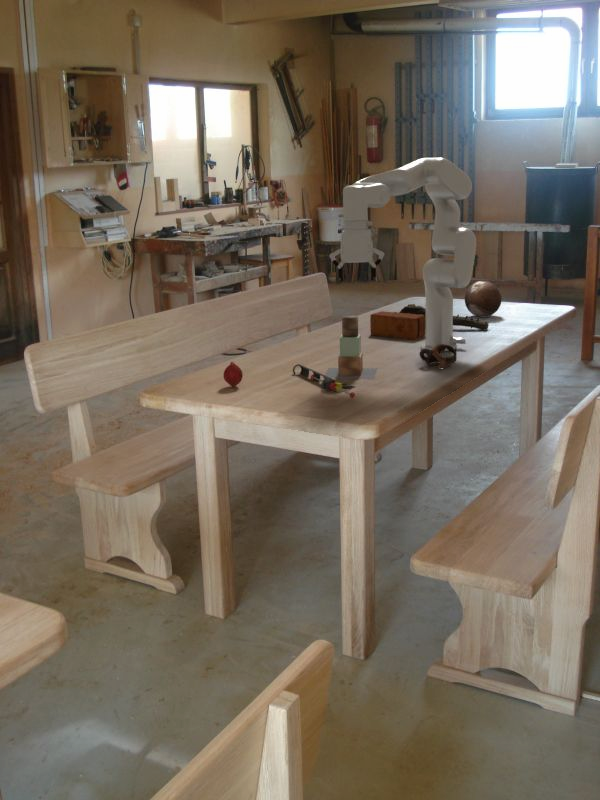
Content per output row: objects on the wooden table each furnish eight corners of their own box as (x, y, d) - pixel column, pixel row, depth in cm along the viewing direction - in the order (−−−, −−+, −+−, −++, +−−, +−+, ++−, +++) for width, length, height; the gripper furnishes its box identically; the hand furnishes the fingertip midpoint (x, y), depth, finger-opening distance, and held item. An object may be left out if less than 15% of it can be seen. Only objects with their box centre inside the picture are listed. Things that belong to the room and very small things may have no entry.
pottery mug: (451, 363, 312) (459, 344, 306) (451, 382, 305) (459, 363, 299) (416, 355, 311) (423, 336, 306) (415, 373, 304) (422, 354, 299)
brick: (414, 318, 346) (414, 340, 348) (425, 314, 352) (426, 336, 355) (369, 314, 357) (369, 336, 360) (381, 310, 364) (381, 331, 366)
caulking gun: (318, 365, 303) (290, 363, 299) (375, 390, 271) (344, 387, 266) (316, 377, 304) (288, 375, 299) (372, 403, 271) (342, 401, 267)
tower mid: (360, 352, 300) (360, 334, 298) (359, 356, 294) (358, 337, 292) (342, 352, 301) (341, 333, 299) (339, 356, 295) (339, 337, 293)
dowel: (358, 334, 298) (358, 315, 296) (357, 337, 293) (357, 318, 291) (343, 334, 299) (342, 315, 297) (341, 337, 294) (341, 318, 292)
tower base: (362, 370, 302) (362, 352, 300) (360, 375, 295) (360, 357, 293) (341, 370, 303) (340, 352, 301) (338, 375, 296) (338, 356, 295)
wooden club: (488, 329, 365) (489, 304, 362) (487, 332, 360) (488, 306, 358) (389, 327, 375) (389, 302, 372) (387, 329, 370) (387, 304, 368)
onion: (226, 384, 290) (224, 359, 288) (244, 384, 290) (243, 359, 288) (222, 389, 285) (221, 363, 283) (241, 389, 284) (240, 363, 282)
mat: (377, 369, 304) (377, 368, 304) (374, 379, 291) (374, 378, 291) (328, 368, 307) (328, 367, 307) (322, 379, 294) (322, 377, 294)
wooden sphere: (458, 318, 388) (459, 282, 384) (472, 312, 400) (473, 277, 396) (493, 321, 380) (494, 284, 376) (506, 315, 392) (507, 279, 389)
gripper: (384, 223, 296) (385, 277, 301) (329, 225, 299) (331, 279, 303) (383, 226, 289) (384, 281, 294) (327, 228, 292) (329, 282, 296)
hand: (357, 280), depth 299 cm, fingers open, 9 cm apart
